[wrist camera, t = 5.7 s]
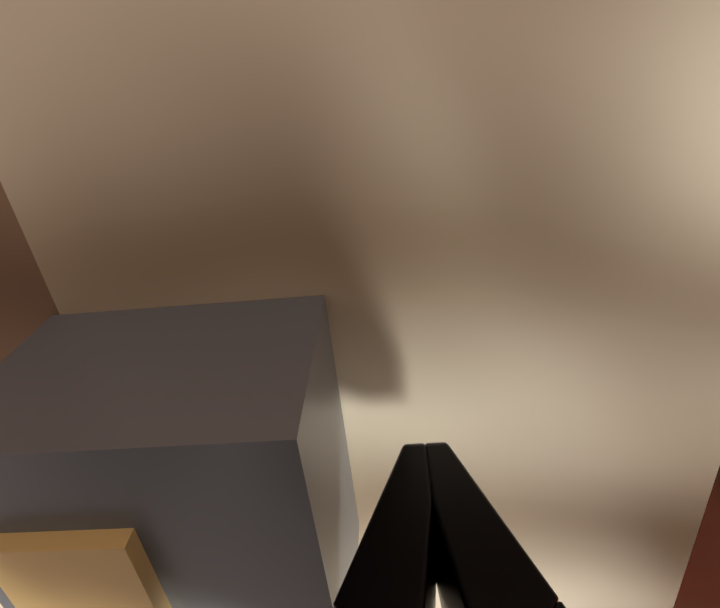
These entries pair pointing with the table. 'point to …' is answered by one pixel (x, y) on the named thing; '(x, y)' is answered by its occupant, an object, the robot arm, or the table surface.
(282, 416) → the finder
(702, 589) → the table surface
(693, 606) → the table surface
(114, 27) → the board
